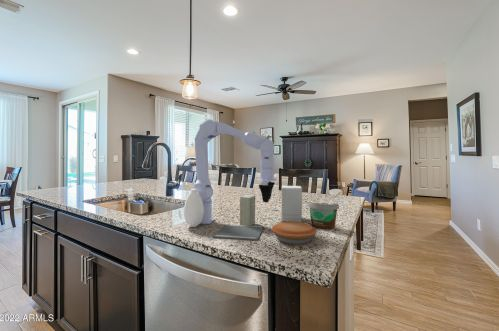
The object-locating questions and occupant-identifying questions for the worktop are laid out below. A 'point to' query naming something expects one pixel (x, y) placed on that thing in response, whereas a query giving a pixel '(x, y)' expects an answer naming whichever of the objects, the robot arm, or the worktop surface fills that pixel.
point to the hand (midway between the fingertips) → (267, 200)
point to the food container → (323, 215)
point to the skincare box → (247, 210)
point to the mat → (239, 232)
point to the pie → (294, 232)
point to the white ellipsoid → (193, 208)
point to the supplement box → (292, 203)
